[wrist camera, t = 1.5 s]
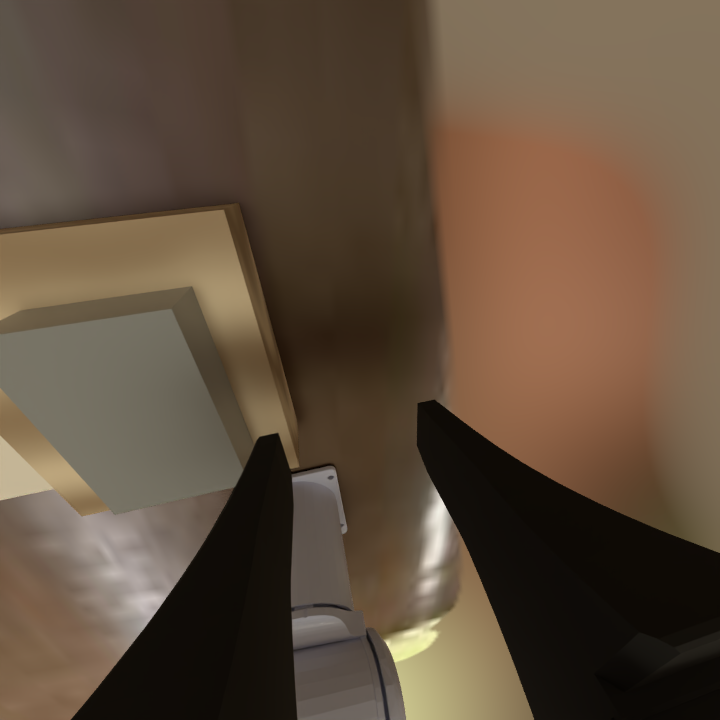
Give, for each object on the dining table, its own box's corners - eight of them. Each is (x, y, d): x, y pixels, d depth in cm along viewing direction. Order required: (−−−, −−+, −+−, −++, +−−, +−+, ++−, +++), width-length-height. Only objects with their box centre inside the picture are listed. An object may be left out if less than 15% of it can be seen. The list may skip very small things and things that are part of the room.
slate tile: (254, 445, 16) (249, 483, 14) (137, 470, 16) (114, 514, 14) (191, 286, 12) (171, 308, 10) (20, 310, 11) (-42, 341, 9)
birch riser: (297, 422, 21) (299, 466, 18) (116, 459, 20) (81, 516, 16) (238, 202, 14) (223, 209, 11) (-57, 235, 12) (-182, 255, 9)
